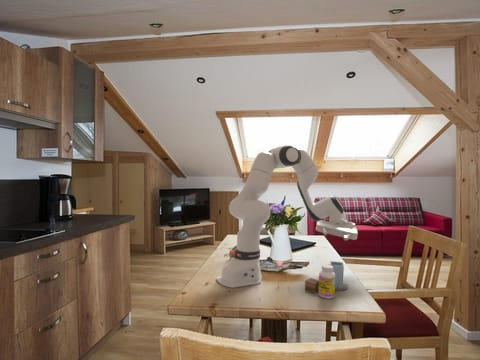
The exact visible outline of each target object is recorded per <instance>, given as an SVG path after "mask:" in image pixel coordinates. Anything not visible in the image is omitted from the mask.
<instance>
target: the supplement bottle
mask: <svg viewBox="0 0 480 360" xmlns="http://www.w3.org/2000/svg"><path fill="white" fill-rule="evenodd" d="M318 280H319V291H318V295H319V297H321V298H323V299H327V300H328V299H333V298H335V294H336V293H335V292H336V290H335V273H334V272H333V266H331V265H330V264H322V265H321V270H320V271H319V273H318Z"/></svg>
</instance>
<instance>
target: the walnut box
mask: <svg viewBox="0 0 480 360" xmlns="http://www.w3.org/2000/svg"><path fill="white" fill-rule="evenodd" d="M304 290H306V291H308V292H312V293H317V292H319V279H316V278H312V277H310V278H307V279H305V281H304Z"/></svg>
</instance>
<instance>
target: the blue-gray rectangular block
mask: <svg viewBox="0 0 480 360" xmlns="http://www.w3.org/2000/svg"><path fill="white" fill-rule="evenodd" d="M329 263H330V264H329V265H331V266H333V272H334V273H335V287H338V288H343V283H344V271H345V270H344V268H345V266H344V262H341V261H339V262H338V261H329Z"/></svg>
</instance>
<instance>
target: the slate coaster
mask: <svg viewBox="0 0 480 360" xmlns="http://www.w3.org/2000/svg"><path fill="white" fill-rule="evenodd" d="M348 288H349V287H348V284H346V283H344V282H343V288H338V287H335V292H336V291H340V292H343V291H346V290H348Z"/></svg>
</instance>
